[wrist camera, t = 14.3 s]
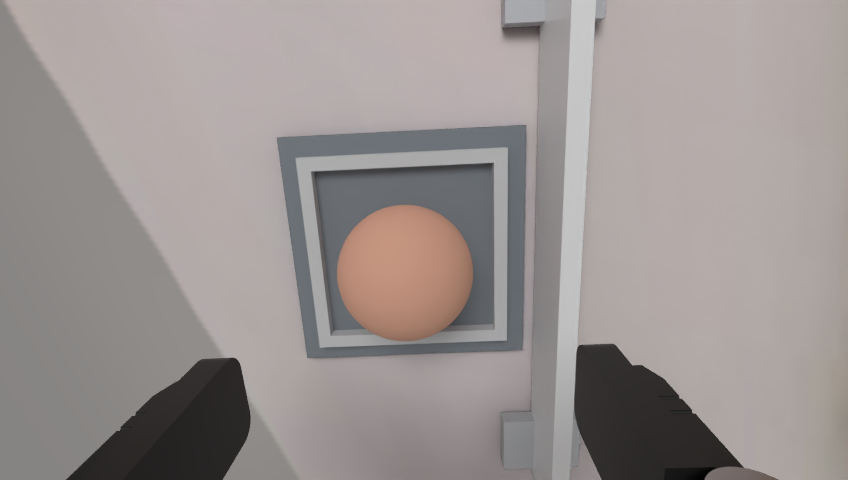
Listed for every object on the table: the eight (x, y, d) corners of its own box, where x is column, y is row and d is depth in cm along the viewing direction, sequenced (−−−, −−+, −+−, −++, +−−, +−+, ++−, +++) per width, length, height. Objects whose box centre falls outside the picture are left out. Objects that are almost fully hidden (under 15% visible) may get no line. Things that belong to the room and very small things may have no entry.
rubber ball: (465, 191, 19) (480, 217, 13) (468, 303, 20) (482, 366, 15) (345, 197, 19) (312, 225, 14) (356, 307, 20) (330, 372, 15)
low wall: (602, -75, 16) (656, -137, 12) (572, 462, 23) (601, 529, 19) (501, -69, 16) (524, -129, 13) (501, 465, 23) (515, 532, 19)
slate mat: (524, 125, 18) (529, 125, 17) (520, 345, 21) (525, 356, 20) (279, 137, 19) (271, 138, 18) (309, 353, 22) (304, 364, 21)
